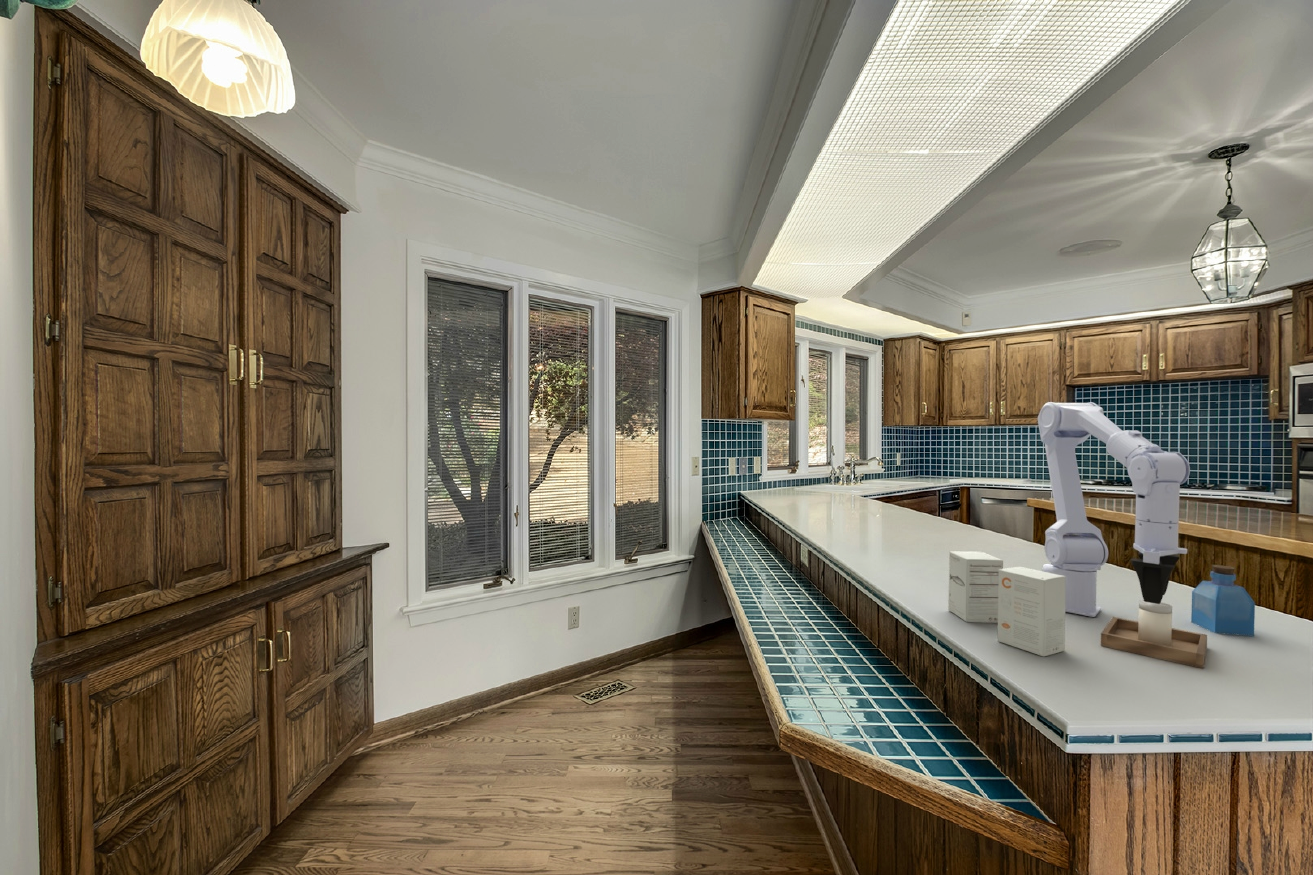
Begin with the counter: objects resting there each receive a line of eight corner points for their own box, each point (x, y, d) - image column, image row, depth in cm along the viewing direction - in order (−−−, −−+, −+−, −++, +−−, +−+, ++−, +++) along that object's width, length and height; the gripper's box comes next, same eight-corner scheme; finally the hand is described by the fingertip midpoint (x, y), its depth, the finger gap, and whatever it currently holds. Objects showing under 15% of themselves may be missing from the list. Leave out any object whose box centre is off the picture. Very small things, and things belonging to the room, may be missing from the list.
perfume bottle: (1254, 635, 106) (1255, 571, 106) (1214, 633, 107) (1216, 569, 107) (1228, 624, 112) (1229, 563, 112) (1191, 622, 113) (1192, 562, 113)
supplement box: (947, 610, 119) (948, 550, 119) (983, 611, 119) (984, 551, 119) (964, 622, 112) (966, 558, 112) (1003, 623, 112) (1004, 559, 111)
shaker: (1136, 643, 100) (1137, 603, 100) (1139, 636, 103) (1140, 598, 103) (1169, 650, 97) (1171, 609, 97) (1172, 643, 100) (1173, 604, 100)
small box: (1065, 651, 98) (1067, 575, 97) (1043, 657, 95) (1044, 579, 95) (1018, 635, 105) (1019, 565, 105) (996, 641, 102) (997, 568, 102)
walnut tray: (1100, 645, 100) (1101, 633, 100) (1112, 628, 109) (1113, 616, 109) (1202, 668, 91) (1203, 654, 91) (1206, 647, 100) (1207, 634, 100)
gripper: (1184, 528, 92) (1182, 612, 92) (1190, 519, 102) (1188, 594, 102) (1128, 523, 97) (1126, 602, 97) (1139, 514, 107) (1137, 586, 107)
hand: (1154, 597), depth 100 cm, fingers open, 7 cm apart
